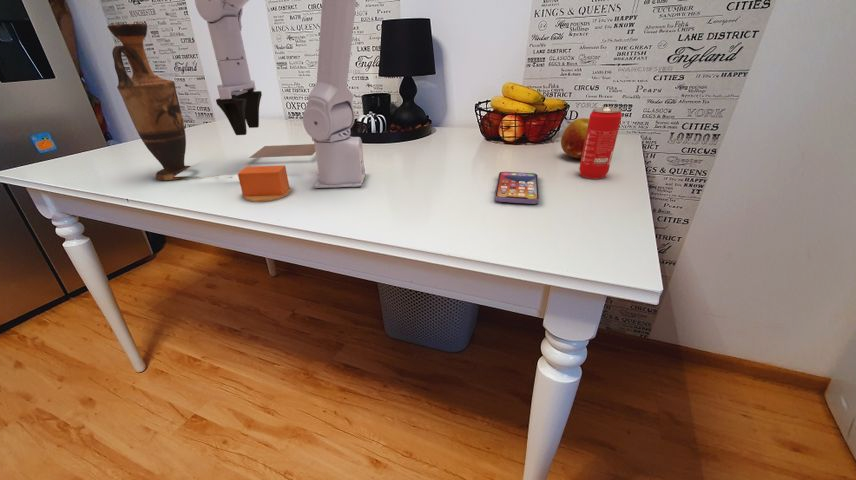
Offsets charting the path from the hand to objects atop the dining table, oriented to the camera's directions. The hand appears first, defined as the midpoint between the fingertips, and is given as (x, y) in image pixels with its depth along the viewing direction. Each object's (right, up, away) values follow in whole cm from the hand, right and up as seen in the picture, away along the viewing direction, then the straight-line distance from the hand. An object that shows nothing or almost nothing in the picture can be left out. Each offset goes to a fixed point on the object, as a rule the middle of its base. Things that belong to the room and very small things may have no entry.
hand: (247, 131), depth 86 cm
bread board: (+4, 0, +17) cm, 18 cm away
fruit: (+74, -5, +3) cm, 74 cm away
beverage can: (+71, -12, -8) cm, 72 cm away
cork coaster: (+7, -15, -7) cm, 18 cm away
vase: (-19, -8, +8) cm, 22 cm away
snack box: (+7, -15, -8) cm, 18 cm away
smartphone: (+54, -16, -13) cm, 58 cm away
